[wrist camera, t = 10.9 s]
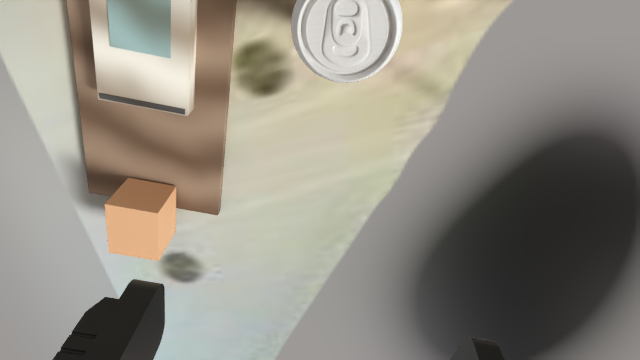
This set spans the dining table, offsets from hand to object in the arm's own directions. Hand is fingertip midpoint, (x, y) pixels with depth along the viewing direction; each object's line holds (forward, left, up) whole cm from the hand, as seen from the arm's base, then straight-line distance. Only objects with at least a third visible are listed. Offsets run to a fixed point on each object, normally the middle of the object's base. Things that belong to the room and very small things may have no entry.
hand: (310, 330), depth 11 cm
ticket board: (+4, -16, -30) cm, 34 cm away
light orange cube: (+19, -16, -29) cm, 38 cm away
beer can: (-5, 0, -30) cm, 31 cm away
